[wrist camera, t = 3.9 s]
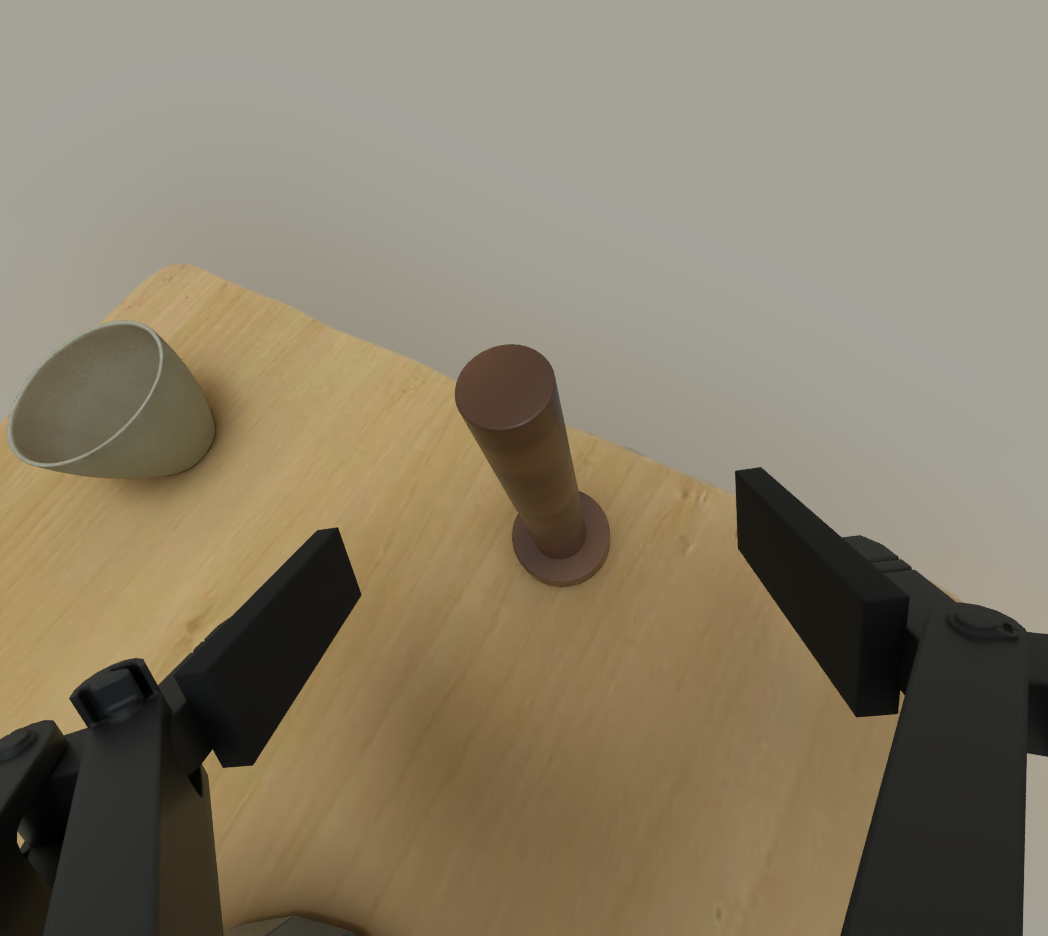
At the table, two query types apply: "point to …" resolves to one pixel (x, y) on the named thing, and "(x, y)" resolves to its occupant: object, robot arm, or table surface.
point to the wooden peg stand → (533, 463)
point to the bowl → (287, 928)
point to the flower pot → (112, 407)
